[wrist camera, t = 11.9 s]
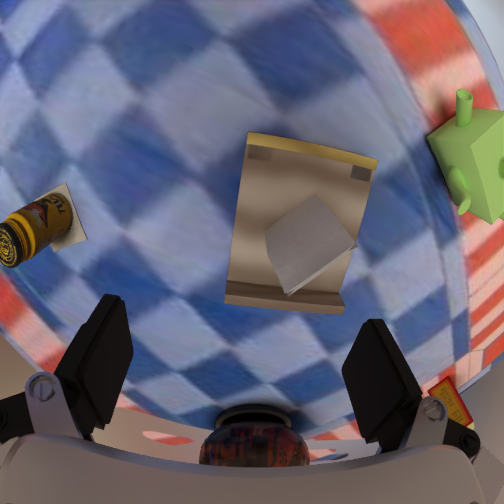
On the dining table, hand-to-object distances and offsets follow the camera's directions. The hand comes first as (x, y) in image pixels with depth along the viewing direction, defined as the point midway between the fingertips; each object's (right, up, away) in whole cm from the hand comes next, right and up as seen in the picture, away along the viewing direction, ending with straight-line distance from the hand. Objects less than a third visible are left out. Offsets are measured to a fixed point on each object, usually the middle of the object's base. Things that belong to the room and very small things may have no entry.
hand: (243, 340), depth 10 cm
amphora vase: (+1, -33, +42) cm, 53 cm away
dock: (+5, +7, +22) cm, 24 cm away
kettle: (+28, +16, +19) cm, 38 cm away
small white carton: (+5, +6, +20) cm, 21 cm away
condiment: (-27, +8, +22) cm, 35 cm away
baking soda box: (+49, -32, +42) cm, 72 cm away
